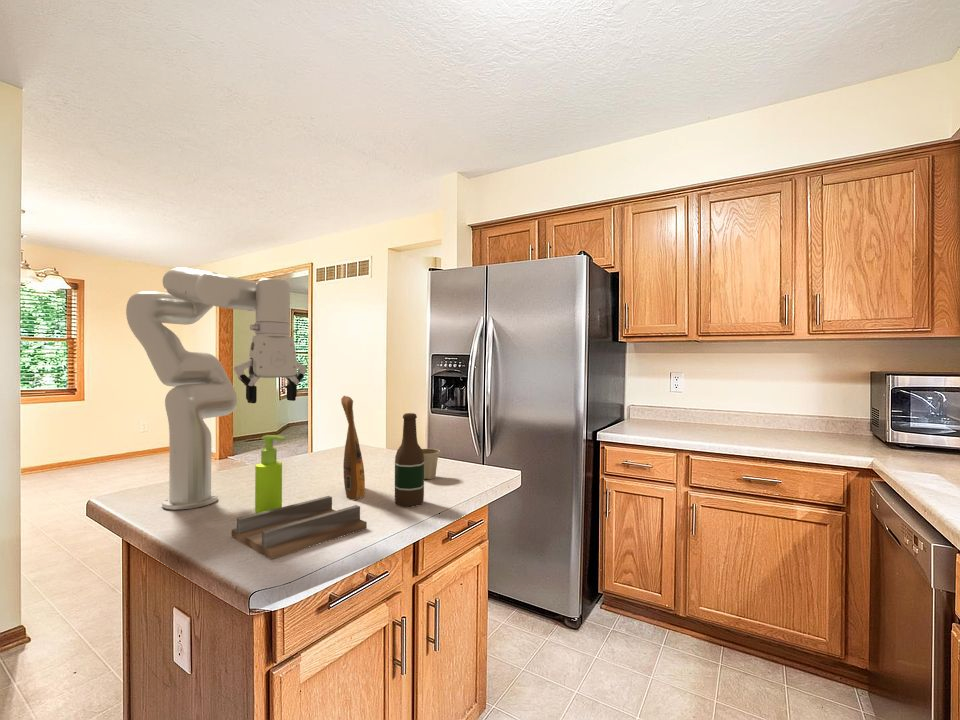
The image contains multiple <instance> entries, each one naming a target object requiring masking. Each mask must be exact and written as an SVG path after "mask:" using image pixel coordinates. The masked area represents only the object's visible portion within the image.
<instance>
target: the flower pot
mask: <svg viewBox="0 0 960 720" xmlns="http://www.w3.org/2000/svg"><path fill="white" fill-rule="evenodd" d="M421 449H422V452H423V455H424V481H425V480H426V479H428V480H433V479H435V478H436V477H437V475H436V474H437V466H438V459H439V456H440V453H441V450H440V449H436V448H421Z"/></svg>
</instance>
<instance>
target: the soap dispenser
mask: <svg viewBox="0 0 960 720" xmlns="http://www.w3.org/2000/svg"><path fill="white" fill-rule="evenodd" d="M286 438H287V437H286V436H283V435H279V434H268V435H263V436H261V440H264V441H265V442H264V445H265V446H264V448H262V449H261V451H260V452H261V454H260V456H261V457H260V458H261V459H260V463H256V464H255V471H254V472H255V477H254V479H255V480H254V481H255V482H254V483H255V486H254V487H255V488H254V489H255V491H254V493H255V494H254V496H255V497H254V499H255V500H254V503H255V504H254V505H255V506H254V514H256V513H260V512H264V511H268V510H272V509H277V508H281V507H283V504H282V503H283V463H282V462H281V461H277V460H278V459H277V457H278V456H277V455H278V454H277V453H278V452H277V448H275V447H273V446H274V444H273V443H274V440H278V441H282V440H286Z"/></svg>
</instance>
